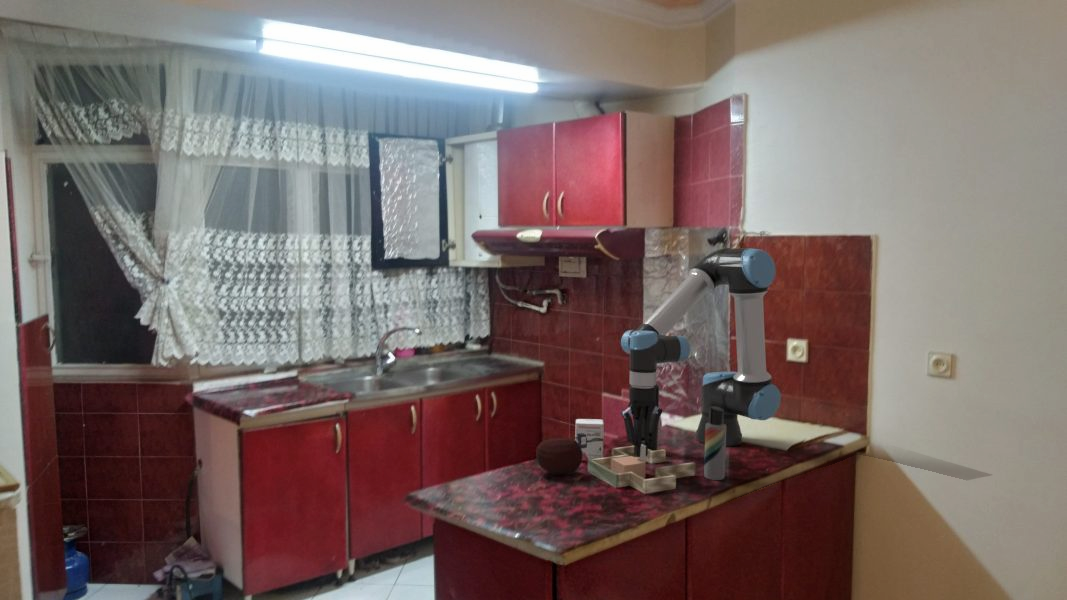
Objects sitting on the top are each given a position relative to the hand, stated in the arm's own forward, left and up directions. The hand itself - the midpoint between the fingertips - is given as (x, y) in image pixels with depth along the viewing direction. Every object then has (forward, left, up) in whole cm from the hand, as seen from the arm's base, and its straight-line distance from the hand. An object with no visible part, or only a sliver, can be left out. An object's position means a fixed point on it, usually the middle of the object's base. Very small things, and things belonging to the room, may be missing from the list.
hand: (640, 467), depth 205 cm
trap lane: (-1, 0, -2) cm, 2 cm away
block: (+4, 0, -2) cm, 5 cm away
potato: (+21, -9, -2) cm, 23 cm away
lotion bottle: (-18, +11, -2) cm, 21 cm away
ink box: (+6, -18, -2) cm, 19 cm away
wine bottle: (-15, -17, -2) cm, 22 cm away
